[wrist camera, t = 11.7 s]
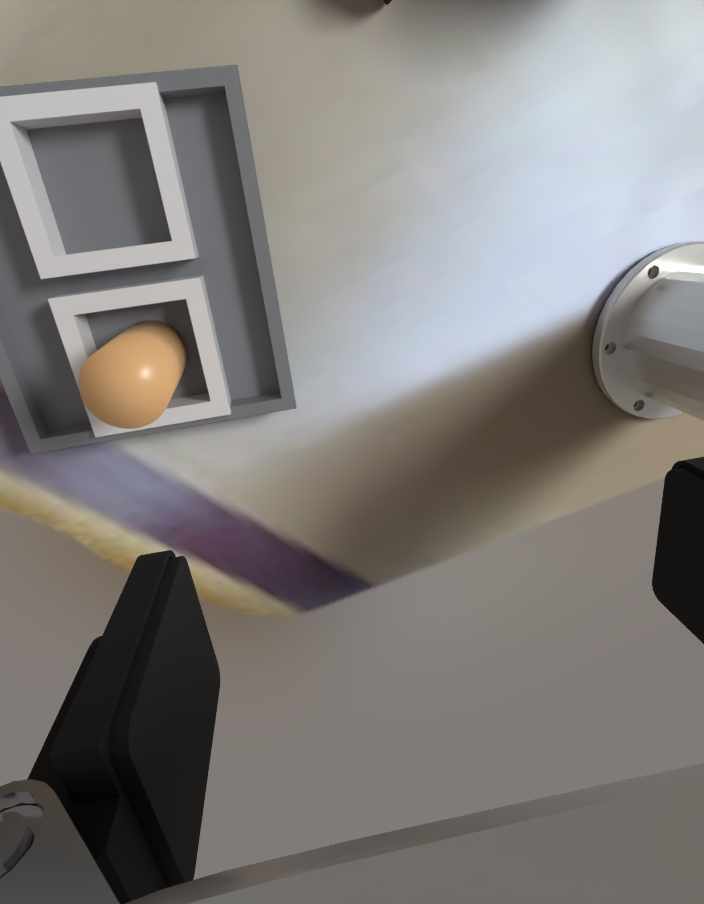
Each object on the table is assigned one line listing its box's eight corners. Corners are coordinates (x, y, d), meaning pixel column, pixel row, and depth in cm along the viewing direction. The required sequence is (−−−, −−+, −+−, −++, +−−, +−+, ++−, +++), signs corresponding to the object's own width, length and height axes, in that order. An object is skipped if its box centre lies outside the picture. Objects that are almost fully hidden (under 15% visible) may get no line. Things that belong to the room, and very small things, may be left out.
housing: (238, 78, 28) (237, 61, 25) (293, 397, 35) (297, 410, 32) (-82, 109, 26) (-121, 94, 23) (45, 439, 33) (27, 457, 31)
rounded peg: (178, 314, 31) (157, 339, 24) (195, 379, 33) (179, 420, 25) (109, 325, 31) (65, 352, 23) (129, 390, 32) (94, 435, 25)
